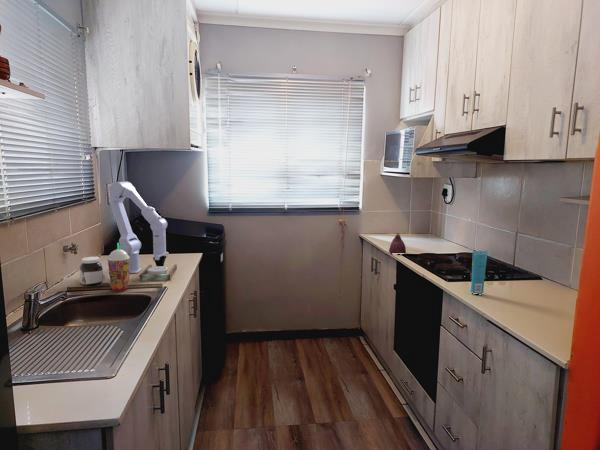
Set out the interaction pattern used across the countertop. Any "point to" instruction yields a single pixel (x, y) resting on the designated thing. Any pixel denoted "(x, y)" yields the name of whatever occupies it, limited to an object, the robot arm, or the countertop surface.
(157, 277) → the channel
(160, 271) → the ramekin
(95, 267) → the spread jar
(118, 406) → the countertop surface
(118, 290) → the smoothie
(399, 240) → the vegetable
